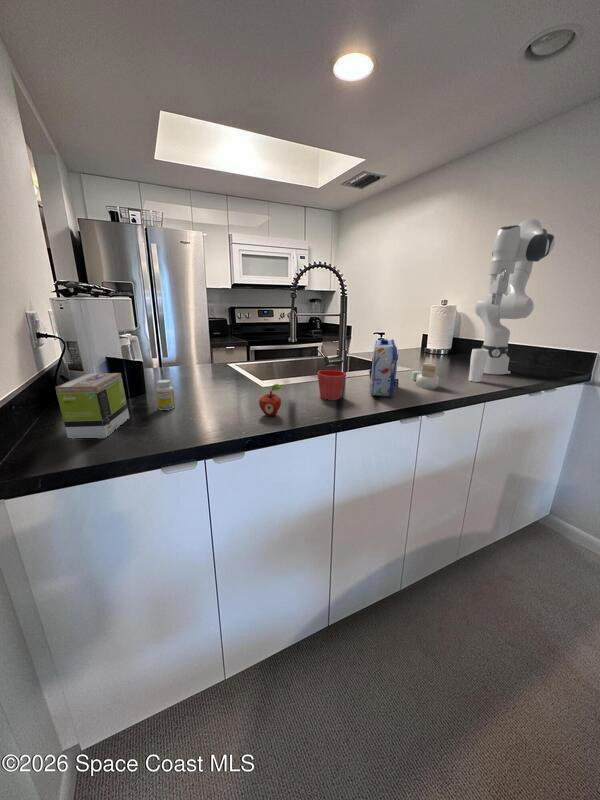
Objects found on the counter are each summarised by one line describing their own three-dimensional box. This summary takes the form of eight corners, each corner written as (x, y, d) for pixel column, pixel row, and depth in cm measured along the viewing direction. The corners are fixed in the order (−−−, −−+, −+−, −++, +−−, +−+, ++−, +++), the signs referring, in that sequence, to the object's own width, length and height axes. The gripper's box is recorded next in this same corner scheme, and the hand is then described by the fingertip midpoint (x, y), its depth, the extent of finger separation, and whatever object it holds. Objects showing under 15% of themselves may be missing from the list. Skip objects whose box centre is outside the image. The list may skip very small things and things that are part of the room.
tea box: (96, 419, 97) (87, 372, 93) (130, 418, 98) (123, 372, 93) (66, 440, 83) (53, 385, 78) (106, 439, 84) (96, 385, 79)
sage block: (410, 378, 154) (411, 370, 153) (418, 379, 154) (420, 370, 152) (412, 380, 150) (413, 372, 149) (421, 381, 150) (422, 372, 149)
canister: (416, 383, 146) (417, 372, 144) (437, 385, 143) (439, 374, 141) (414, 387, 138) (416, 376, 137) (437, 390, 135) (438, 378, 133)
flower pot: (347, 395, 125) (349, 371, 122) (339, 403, 116) (340, 377, 113) (322, 392, 129) (323, 368, 126) (312, 399, 120) (313, 374, 117)
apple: (272, 420, 98) (271, 389, 95) (255, 416, 101) (254, 386, 98) (286, 413, 104) (286, 384, 101) (269, 409, 108) (269, 381, 105)
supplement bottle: (167, 412, 104) (163, 383, 101) (154, 409, 106) (151, 382, 103) (178, 407, 109) (175, 380, 106) (166, 405, 111) (163, 378, 108)
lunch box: (397, 402, 118) (404, 342, 111) (369, 400, 120) (374, 341, 113) (392, 384, 143) (397, 334, 137) (369, 382, 145) (373, 334, 139)
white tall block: (478, 379, 153) (484, 348, 149) (485, 383, 147) (491, 350, 142) (464, 379, 154) (469, 348, 150) (470, 382, 148) (476, 350, 143)
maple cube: (422, 374, 142) (423, 363, 141) (434, 375, 140) (435, 364, 139) (421, 376, 138) (423, 365, 136) (434, 377, 136) (435, 366, 134)
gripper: (516, 267, 119) (508, 305, 124) (506, 270, 137) (499, 304, 142) (496, 268, 122) (490, 305, 126) (489, 271, 139) (483, 304, 144)
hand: (495, 305), depth 134 cm, fingers open, 8 cm apart
